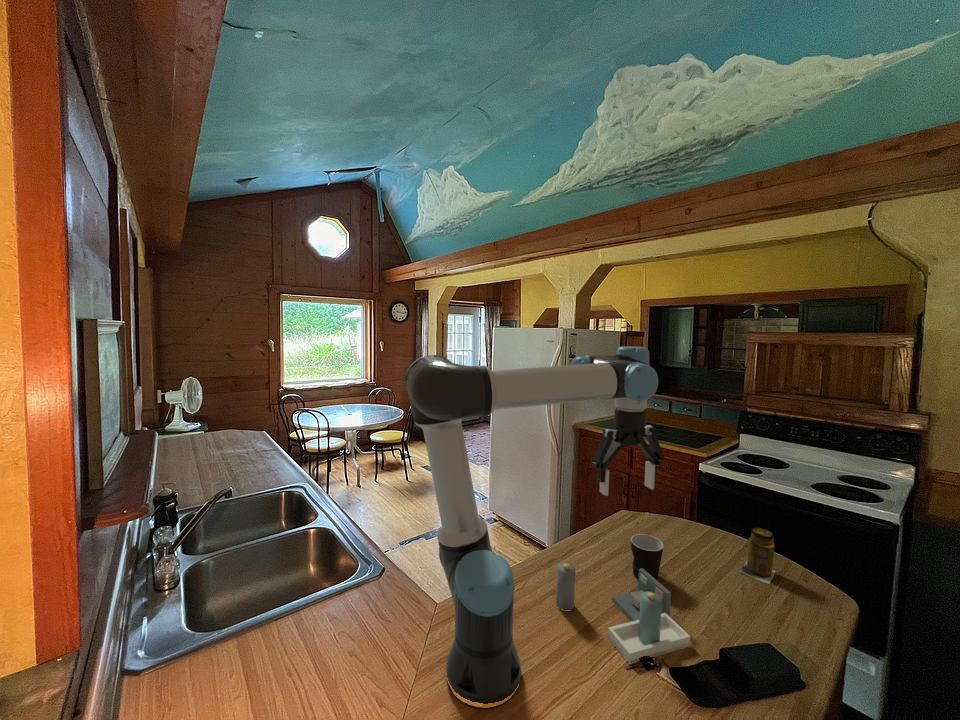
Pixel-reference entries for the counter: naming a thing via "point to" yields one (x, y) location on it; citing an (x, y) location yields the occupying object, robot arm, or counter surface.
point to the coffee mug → (646, 554)
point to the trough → (633, 649)
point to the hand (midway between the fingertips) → (626, 490)
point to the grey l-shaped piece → (646, 585)
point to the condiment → (760, 556)
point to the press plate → (636, 598)
